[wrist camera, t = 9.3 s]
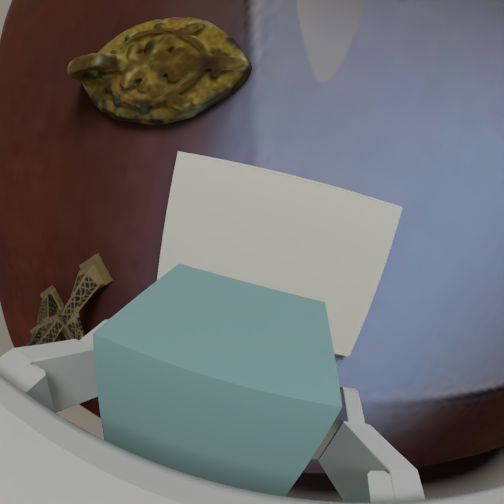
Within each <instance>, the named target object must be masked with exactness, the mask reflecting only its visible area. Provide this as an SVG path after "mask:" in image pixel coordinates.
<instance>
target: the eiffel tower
mask: <svg viewBox="0 0 504 504" xmlns="http://www.w3.org/2000/svg"><path fill="white" fill-rule="evenodd" d="M79 267H80V269H81V270H80V271H79V273H78V275H77V278H76V281H75V285H74V288H73V291H72V294H71V298H70V299H69V300H68V302H67V303H66V305H65V306H64V304H63V302H62V300H61V298H60V297H59V295H58V293H57V291H56V289H55V287H54V285H52V286H50V287H49V288H48V289H46V290H45V291H44V292H43V293H41V294H40V296H41V297H42V299H43V300H42V302H41V303H40V309H39V314H38V321H37V326H36V327H34V328H33V329H31V330H30V332H31V334H32V336H31V338H30V340H29V342H28V344H27V345H26V346H33V345H39V344H46V343H53V342H59V341H60V340H59V337H58V334H59V333H60V331H62V332H63V334H64V336H65V337H66V339H67V340H71V339H77V340H80V339H82V338H83V337H84V336H85V335H86V334H85V333H84V331H83V328H82V324H81V321H80V318H79V311H80V309H81V308H82V307H83V306H84V304H85V303H86V302H87V301H88V299H89V298H90V297H91V296H92V294H93V293H94V292H95V291H96V290H98V289H99V288H101V287H103V286H105V285H106V284H108V283H110V282H111V281H113V280H112V278H111V276H110V274H109V272H108V270H107V269H106V267H105V265H104V263H103V261H102V259H101V257H100V255H99V253H97V254H95V255H94V256H92V257H91V258H90V259H88V260H87V261H85V262H84V263H82V264H81V265H79ZM26 346H25V347H26Z"/></svg>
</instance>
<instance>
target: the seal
mask: <svg viewBox="0 0 504 504" xmlns="http://www.w3.org/2000/svg"><path fill="white" fill-rule="evenodd" d="M251 70H252V66H251V63H250V61H249V59H248V58H247V56H246V55H245V53H244V52H243V51H242V50H241V48H240V47H239V46H238V44H237V43H236V41H235V40H234V39H233V38H231V37H230V36H229V35H228V34H227V33H226V32H224V31H223V30H222V29H220V28H218V27H217V26H215V25H214V24H212V23H209V22H207V21H205V20H200V19H196V18H182V17H175V18H168V19H157V20H153V21H149V22H145V23H142V24H139V25H137V26H134V27H132V28H130V29H128V30H126V31H124V32H123V33H121V34H119V35H118V36H117V37H116V38H114V39H113V40H112V41H110V42H109V43H107V44H106V45H105V46H104V47H103V48H102V49H101V50H100V51H99V52H98V53H92V54H88V55H84V56H81V57H77V58H75V59H73V60H72V61H71V62H70V63H69V65H68V74H69V75H70V76H71V77H72V78H75V79H77V80H79V81H80V82H81V83H82V84H83V86H84V88H85V90H86V91H87V93H88V95H89V96H90V98H91V99H92V101H93V102H94V103H95V105H96V106H97V107H98V108H99V109H100V110H101V111H103V112H104V113H106V114H108V115H109V116H110V117H112V118H114V119H116V120H119V121H128V122H135V123H141V124H145V125H159V124H171V123H174V122H178V121H183V120H186V119H188V118H191V117H194V116H196V115H198V114H199V113H201V112H202V111H203V110H205V109H208V108H210V107H211V106H213V105H214V104H216V103H218V102H219V101H221V100H223V99H225V98H227V97H228V96H229V95H230V94H231V93H233V92H234V91H235V90H237V89H238V88H239V87H240V86H241V85H242V84H243V83H244V82H245V81H246V79H247V78H248V76H249V74H250V72H251Z"/></svg>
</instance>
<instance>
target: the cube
mask: <svg viewBox="0 0 504 504" xmlns="http://www.w3.org/2000/svg"><path fill="white" fill-rule="evenodd" d="M93 346H94V361H95V373H96V383H97V392H98V400H99V408H100V415H101V421H102V427H103V433H104V438H105V441H107V442H109V443H111V444H113V445H115V446H117V447H120V448H122V449H124V450H126V451H128V452H131V453H133V454H135V455H138V456H140V457H142V458H145V459H147V460H150V461H152V462H155V463H158V464H160V465H163V466H166V467H168V468H171V469H174V470H177V471H180V472H183V473H186V474H189V475H192V476H195V477H199V478H202V479H205V480H209V481H212V482H216V483H220V484H224V485H228V486H232V487H236V488H240V489H245V490H250V491H255V492H260V493H265V494H271V495H277V496H284V497H285V495H286V494H287V493H288V491H289V490H290V489H291V487H292V486H293V484H294V483H295V482H296V480H297V479H298V477H299V476H300V475H301V473H302V472H303V470H304V469H305V467H306V466H307V464H308V463H309V461H310V460H311V458H312V457H313V455H314V454H315V452H316V450H317V449H318V447H319V446H320V444H321V443H322V441H323V439H324V438H325V436H326V434H327V433H328V431H329V429H330V428H331V426H332V424H333V423H334V421H335V419H336V417H337V416H338V414H339V412H340V410H341V409H342V400H341V393H340V387H339V380H338V374H337V367H336V361H335V355H334V349H333V343H332V337H331V332H330V326H329V321H328V315H327V310H326V305H325V302H322V301H318V300H314V299H310V298H306V297H302V296H298V295H294V294H290V293H286V292H283V291H279V290H275V289H271V288H267V287H263V286H259V285H256V284H252V283H248V282H244V281H241V280H237V279H233V278H229V277H226V276H222V275H218V274H215V273H211V272H208V271H204V270H200V269H197V268H193V267H190V266H186V265H183V264H178V265H176V266H175V267H174V268H172V269H171V270H170V271H169V272H167V273H166V274H165V275H164V276H162V277H161V278H160V279H158V280H157V281H156V282H155V283H153V284H152V285H151V286H150V287H148V288H147V289H146V290H145V291H143V292H142V293H141V294H140V295H138V296H137V297H136V298H135V299H133V300H132V301H131V302H130V303H129V304H127V305H126V306H125V307H124V308H122V309H121V310H120V311H119V312H117V313H116V314H115V315H114V316H113V317H111V318H110V319H109V320H108V321H107V322H105V323H104V324H103V325H102V326H101V327H99V328H98V329H97V330H96V331H95V332H93Z"/></svg>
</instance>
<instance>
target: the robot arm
mask: <svg viewBox="0 0 504 504" xmlns="http://www.w3.org/2000/svg"><path fill="white" fill-rule="evenodd" d="M108 320H109V319H105V320H104V321H103V322H101V323H100V324H99V325H98V326H96V327H95V328H94V329H93V330H91V331H90V332H89V333H88V334H86V335H85V336H84V337H83V338H82V339H80V340H77V339H71V340H65V341H59V342H53V343H46V344H39V345H33V346H26V347H18V348H13V349H11V350H10V351H9V352H7V353H6V354H4V355H3V356H2V357H0V504H504V484H502V485H499V486H495V487H491V488H487V489H483V490H479V491H474V492H470V493H465V494H459V495H454V496H447V497H441V498H434V499H425V497H424V493H423V489H422V486H421V482H420V478H419V474H418V470H417V469H416V468H415V467H414V466H413V465H412V464H411V463H409V462H408V461H407V460H406V459H405V458H404V457H403V456H402V455H401V454H400V453H399V452H398V451H397V450H396V449H395V448H394V447H392V446H391V445H390V444H389V443H388V442H387V441H386V440H385V439H384V438H383V437H382V436H381V435H380V434H379V433H378V432H377V431H376V430H375V429H374V428H373V427H372V426H371V425H370V424H365V420H364V415H363V411H362V406H361V402H360V398H359V393H358V390H357V389H354V388H347V387H340V393H341V400H342V409H341V410H340V412H339V414H338V416H337V417H336V419H335V421H334V423H333V424H332V426H331V428H330V429H329V431H328V433H327V434H326V436H325V438H324V439H323V441H322V443H321V444H320V446H319V447H318V449H317V450H316V452H315V454H314V455H313V457H312V458H313V459H319V460H318V461H319V462H320V464H321V466H322V467H323V469H324V470H325V472H326V474H327V475H328V477H329V478H330V480H331V481H332V483H333V484H334V486H335V488H336V489H337V491H338V492H339V494H340V495H341V497H342V498H343V500H342V501H341V502H331V501H317V500H307V499H298V498H290V497H284V496H277V495H271V494H265V493H260V492H255V491H250V490H245V489H240V488H236V487H232V486H228V485H224V484H220V483H216V482H212V481H209V480H205V479H202V478H199V477H195V476H192V475H189V474H186V473H183V472H180V471H177V470H174V469H171V468H168V467H166V466H163V465H160V464H158V463H155V462H152V461H150V460H147V459H145V458H142V457H140V456H138V455H135V454H133V453H131V452H128V451H126V450H124V449H122V448H120V447H117V446H115V445H113V444H111V443H109V442H107V441H105V440H103V439H101V438H99V437H97V436H95V435H93V434H91V433H89V432H87V431H86V430H83V429H82V428H80V427H78V426H77V425H75V424H73V423H71V422H70V421H68V420H66V419H64V418H63V417H61V416H60V415H58V414H56V412H59V411H61V410H64V409H66V408H69V407H72V406H74V405H77V404H80V403H82V402H85V401H87V400H90V399H92V398H95V397H97V396H98V392H97V383H96V373H95V361H94V346H93V332H95V331H96V330H97V329H98V328H99V327H101V326H102V325H103V324H104V323H105V322H107V321H108Z"/></svg>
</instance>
